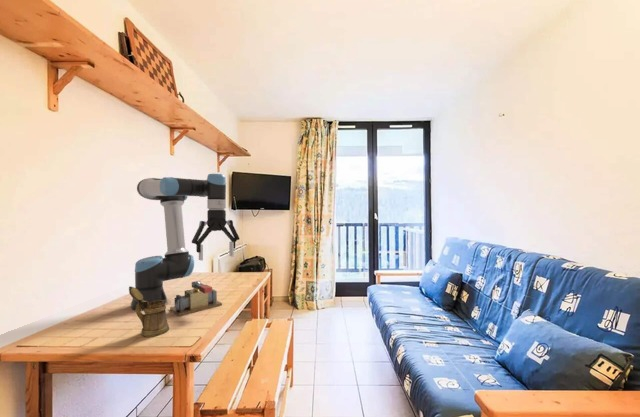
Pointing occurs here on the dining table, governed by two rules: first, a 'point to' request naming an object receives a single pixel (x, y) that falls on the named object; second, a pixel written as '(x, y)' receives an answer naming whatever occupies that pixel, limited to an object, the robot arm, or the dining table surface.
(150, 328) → the wooden mug
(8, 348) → the dining table surface
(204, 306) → the valve body
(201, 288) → the lever
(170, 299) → the dining table surface
